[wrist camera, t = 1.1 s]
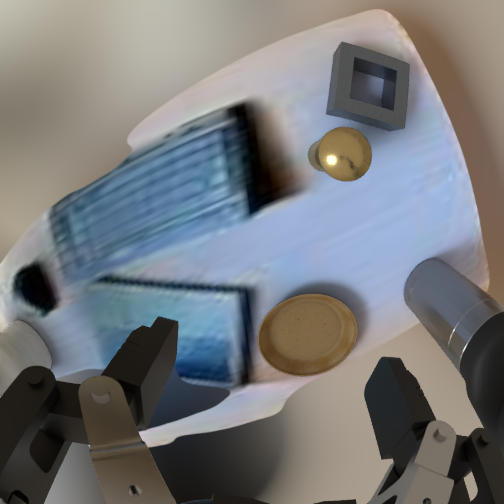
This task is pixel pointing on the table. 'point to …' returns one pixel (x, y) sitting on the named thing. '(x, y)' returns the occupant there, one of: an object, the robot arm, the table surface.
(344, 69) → the box
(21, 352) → the lamp
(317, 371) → the plant saucer
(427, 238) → the table surface
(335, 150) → the brass flared peg
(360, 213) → the table surface
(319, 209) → the table surface
